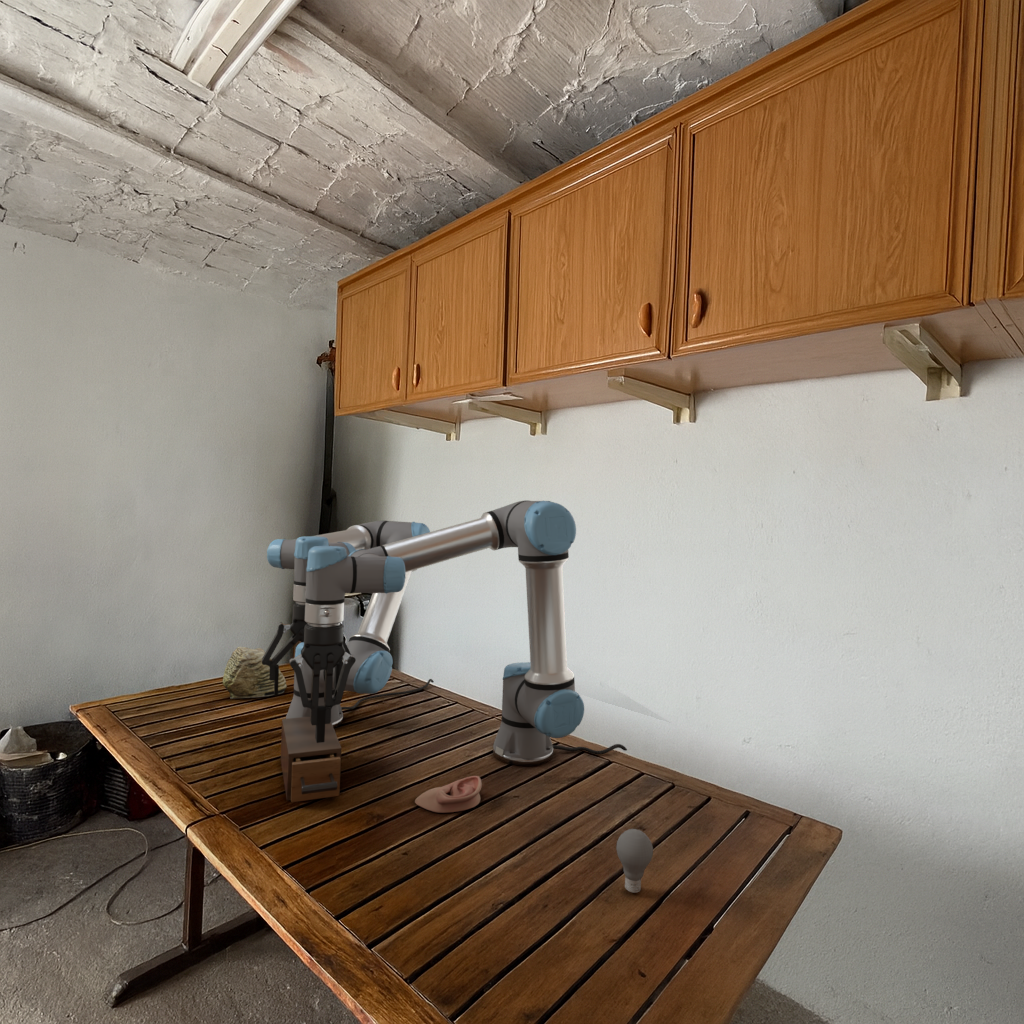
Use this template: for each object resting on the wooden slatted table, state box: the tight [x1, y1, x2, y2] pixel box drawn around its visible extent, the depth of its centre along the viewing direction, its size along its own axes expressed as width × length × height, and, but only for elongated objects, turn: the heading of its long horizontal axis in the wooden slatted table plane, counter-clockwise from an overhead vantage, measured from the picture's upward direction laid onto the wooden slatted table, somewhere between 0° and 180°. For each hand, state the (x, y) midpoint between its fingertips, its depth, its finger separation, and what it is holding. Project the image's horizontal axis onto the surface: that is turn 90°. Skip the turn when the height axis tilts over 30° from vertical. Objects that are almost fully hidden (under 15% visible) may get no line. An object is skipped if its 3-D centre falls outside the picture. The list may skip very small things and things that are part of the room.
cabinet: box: [280, 717, 342, 801], centre depth 143 cm, size 22×11×10 cm, turn 23°
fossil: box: [222, 646, 288, 699], centre depth 198 cm, size 9×18×15 cm, turn 132°
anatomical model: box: [414, 775, 483, 814], centre depth 134 cm, size 13×4×12 cm
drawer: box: [290, 754, 342, 803], centre depth 137 cm, size 26×10×8 cm, turn 23°
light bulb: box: [615, 828, 654, 894], centre depth 106 cm, size 6×6×10 cm
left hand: (306, 691), depth 150 cm, fingers open, 13 cm apart
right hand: (319, 739), depth 127 cm, fingers closed
